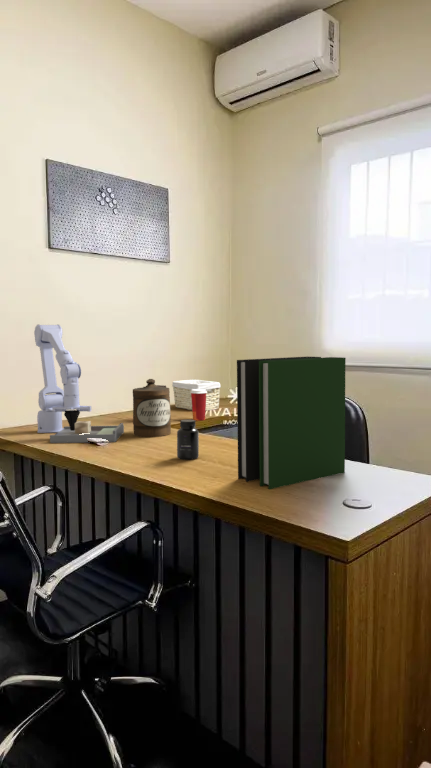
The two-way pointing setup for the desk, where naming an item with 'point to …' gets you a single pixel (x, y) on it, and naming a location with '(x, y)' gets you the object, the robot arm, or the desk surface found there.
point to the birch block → (82, 427)
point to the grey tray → (96, 432)
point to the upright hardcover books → (290, 419)
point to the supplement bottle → (187, 440)
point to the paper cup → (198, 404)
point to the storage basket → (185, 387)
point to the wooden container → (151, 410)
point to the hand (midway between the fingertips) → (72, 430)
